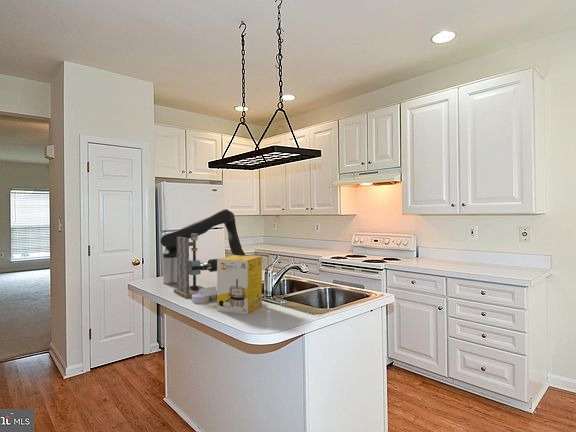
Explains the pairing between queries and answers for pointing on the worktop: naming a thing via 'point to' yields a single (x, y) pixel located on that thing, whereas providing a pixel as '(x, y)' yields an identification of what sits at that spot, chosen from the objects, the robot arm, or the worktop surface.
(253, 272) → the packaging box
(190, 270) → the sleeve
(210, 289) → the wedge on round base
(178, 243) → the grey rod stand
